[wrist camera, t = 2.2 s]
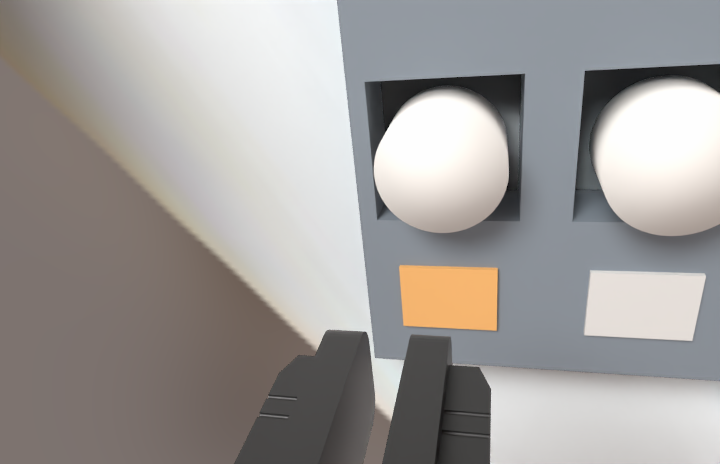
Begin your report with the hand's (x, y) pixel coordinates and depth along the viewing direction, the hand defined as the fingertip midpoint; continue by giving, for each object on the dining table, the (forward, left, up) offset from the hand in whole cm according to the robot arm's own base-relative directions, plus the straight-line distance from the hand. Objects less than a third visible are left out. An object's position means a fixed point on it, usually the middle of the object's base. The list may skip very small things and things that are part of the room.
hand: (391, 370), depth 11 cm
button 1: (0, 0, -13) cm, 13 cm away
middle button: (+8, 0, -13) cm, 15 cm away
